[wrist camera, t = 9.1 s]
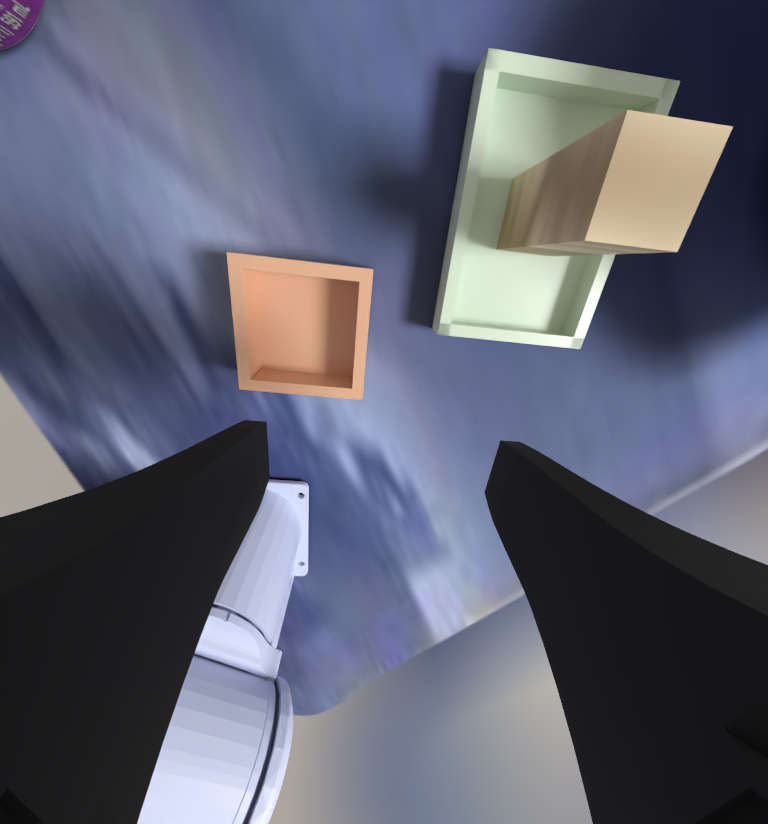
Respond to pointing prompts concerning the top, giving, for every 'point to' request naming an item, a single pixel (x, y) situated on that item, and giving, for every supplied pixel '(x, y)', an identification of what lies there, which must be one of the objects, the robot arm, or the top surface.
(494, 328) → the tray
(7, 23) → the beverage can
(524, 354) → the top surface
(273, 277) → the orange open box
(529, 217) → the beech pin
